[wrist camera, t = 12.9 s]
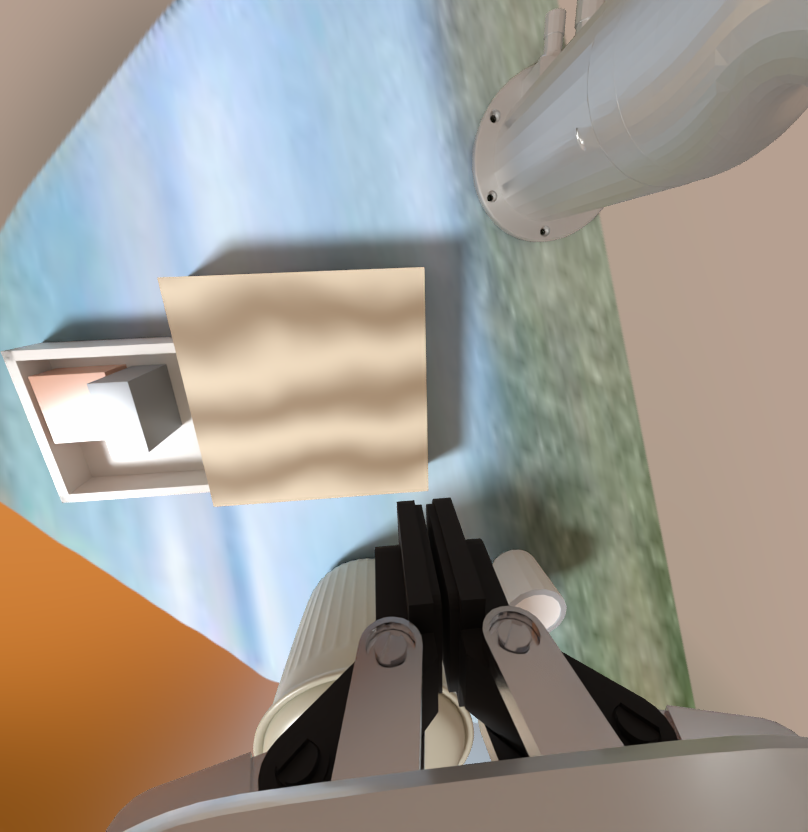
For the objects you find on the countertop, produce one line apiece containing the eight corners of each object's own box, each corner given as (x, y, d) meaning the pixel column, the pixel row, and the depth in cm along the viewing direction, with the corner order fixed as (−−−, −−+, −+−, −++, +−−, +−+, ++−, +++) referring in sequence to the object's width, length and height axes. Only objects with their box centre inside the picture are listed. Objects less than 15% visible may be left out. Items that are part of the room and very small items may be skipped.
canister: (437, 643, 51) (478, 876, 32) (298, 651, 50) (250, 900, 30) (445, 529, 45) (502, 731, 25) (286, 534, 43) (215, 752, 24)
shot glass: (509, 536, 46) (531, 580, 39) (551, 559, 48) (580, 605, 41) (474, 576, 48) (491, 625, 41) (517, 597, 49) (539, 647, 43)
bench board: (187, 276, 33) (157, 277, 29) (417, 267, 35) (424, 267, 30) (232, 479, 41) (213, 506, 36) (422, 466, 42) (428, 490, 37)
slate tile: (166, 363, 35) (132, 365, 35) (127, 381, 30) (86, 383, 29) (182, 425, 37) (150, 427, 37) (148, 452, 32) (110, 455, 31)
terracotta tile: (104, 372, 32) (125, 364, 35) (28, 376, 32) (56, 368, 35) (126, 438, 34) (144, 425, 37) (54, 443, 34) (78, 430, 37)
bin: (40, 342, 34) (0, 351, 31) (197, 335, 35) (176, 342, 32) (91, 480, 39) (62, 502, 36) (227, 471, 40) (213, 491, 36)
